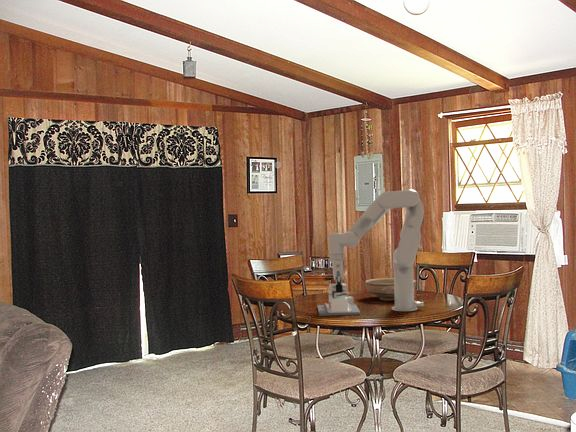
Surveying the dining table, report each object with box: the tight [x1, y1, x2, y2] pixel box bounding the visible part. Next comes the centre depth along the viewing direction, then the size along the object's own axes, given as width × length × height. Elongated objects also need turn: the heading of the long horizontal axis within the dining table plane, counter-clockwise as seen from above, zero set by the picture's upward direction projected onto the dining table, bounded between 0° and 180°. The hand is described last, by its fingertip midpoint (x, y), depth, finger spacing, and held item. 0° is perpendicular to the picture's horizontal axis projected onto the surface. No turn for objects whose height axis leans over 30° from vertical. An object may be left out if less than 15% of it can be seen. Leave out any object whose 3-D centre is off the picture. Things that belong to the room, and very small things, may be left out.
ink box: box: [328, 282, 348, 308], centre depth 322 cm, size 9×5×12 cm, turn 96°
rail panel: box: [317, 296, 361, 317], centre depth 322 cm, size 20×25×8 cm
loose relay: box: [347, 295, 355, 304], centre depth 343 cm, size 4×4×4 cm
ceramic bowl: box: [364, 277, 417, 301], centre depth 359 cm, size 37×29×10 cm
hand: (338, 291), depth 322 cm, fingers open, 9 cm apart
